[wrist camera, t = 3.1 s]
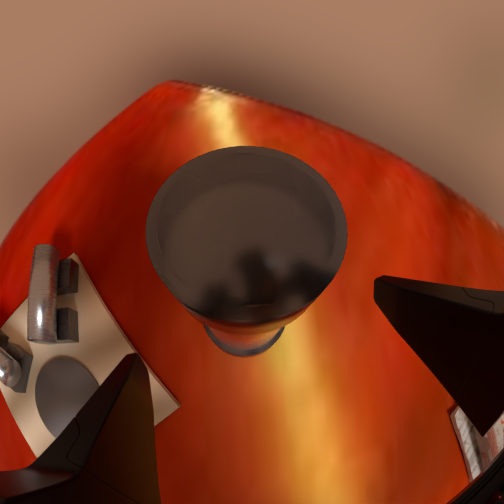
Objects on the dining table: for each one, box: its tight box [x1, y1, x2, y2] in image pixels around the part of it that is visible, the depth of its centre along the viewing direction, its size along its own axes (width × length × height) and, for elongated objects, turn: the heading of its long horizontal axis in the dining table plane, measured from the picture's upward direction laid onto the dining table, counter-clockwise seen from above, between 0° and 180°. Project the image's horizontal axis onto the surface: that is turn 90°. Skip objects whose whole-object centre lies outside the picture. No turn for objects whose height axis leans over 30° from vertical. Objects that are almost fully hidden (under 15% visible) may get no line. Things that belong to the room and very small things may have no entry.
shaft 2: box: [27, 244, 79, 345], centre depth 16 cm, size 7×4×4 cm, turn 12°
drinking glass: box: [146, 146, 347, 357], centre depth 13 cm, size 5×5×13 cm
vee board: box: [0, 253, 181, 458], centre depth 15 cm, size 15×15×1 cm
